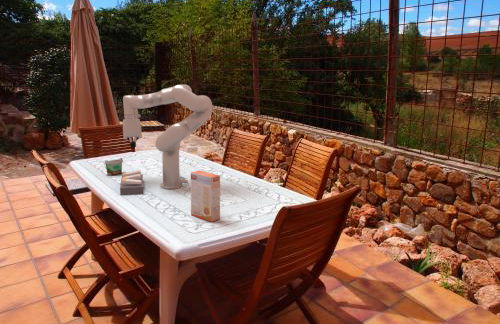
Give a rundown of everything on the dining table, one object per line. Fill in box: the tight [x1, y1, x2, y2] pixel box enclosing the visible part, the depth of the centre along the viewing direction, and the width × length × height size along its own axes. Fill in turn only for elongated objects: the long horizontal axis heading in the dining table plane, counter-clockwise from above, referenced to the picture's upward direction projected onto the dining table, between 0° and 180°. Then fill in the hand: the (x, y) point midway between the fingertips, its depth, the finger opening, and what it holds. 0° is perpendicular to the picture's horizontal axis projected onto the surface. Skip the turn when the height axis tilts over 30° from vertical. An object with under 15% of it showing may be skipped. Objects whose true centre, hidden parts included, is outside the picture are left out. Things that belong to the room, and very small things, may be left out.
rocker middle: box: [123, 173, 142, 179], centre depth 227 cm, size 10×4×2 cm, turn 106°
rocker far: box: [122, 169, 142, 177], centre depth 235 cm, size 10×4×2 cm, turn 106°
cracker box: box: [190, 170, 221, 223], centre depth 181 cm, size 14×6×21 cm, turn 48°
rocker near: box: [122, 179, 141, 184], centre depth 218 cm, size 10×4×2 cm, turn 105°
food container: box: [104, 157, 124, 177], centre depth 254 cm, size 12×6×10 cm, turn 143°
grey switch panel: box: [119, 173, 145, 196], centre depth 229 cm, size 12×32×4 cm, turn 16°
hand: (133, 148), depth 232 cm, fingers closed
